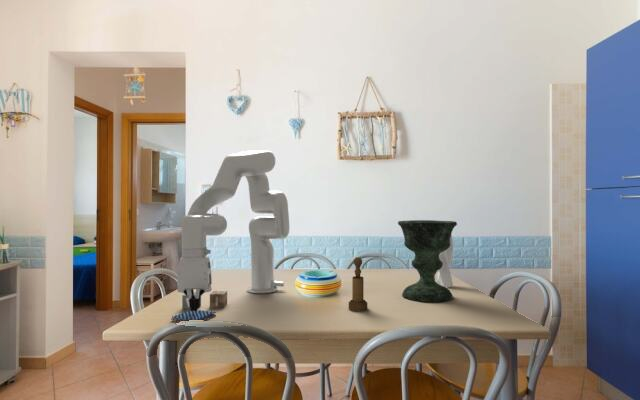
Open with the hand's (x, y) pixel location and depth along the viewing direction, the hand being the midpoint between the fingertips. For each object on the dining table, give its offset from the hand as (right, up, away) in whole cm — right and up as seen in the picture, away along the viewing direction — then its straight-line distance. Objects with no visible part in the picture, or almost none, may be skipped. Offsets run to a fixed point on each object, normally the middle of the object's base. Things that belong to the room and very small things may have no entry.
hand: (194, 309), depth 123 cm
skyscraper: (+96, -4, +47) cm, 107 cm away
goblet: (+83, -3, +27) cm, 87 cm away
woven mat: (0, -3, -1) cm, 3 cm away
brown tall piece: (+54, -3, +10) cm, 55 cm away
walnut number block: (+4, -3, +14) cm, 15 cm away
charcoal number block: (-5, -3, +12) cm, 14 cm away
